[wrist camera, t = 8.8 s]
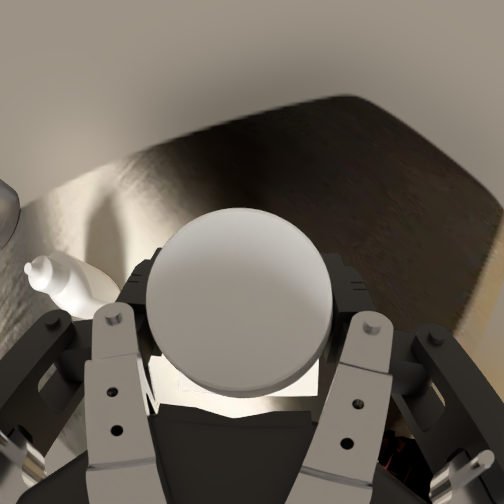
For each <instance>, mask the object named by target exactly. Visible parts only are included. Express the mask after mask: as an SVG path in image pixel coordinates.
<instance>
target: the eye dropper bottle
mask: <svg viewBox="0 0 504 504" xmlns="http://www.w3.org/2000/svg"><path fill="white" fill-rule="evenodd" d="M24 271H25V273H27V274H28V279H29V282H30V285H31V286H32V288H33V289H35V290H37V291H40V292H44V293H47V294H49V295H50V297H51V298H52V300H53V301H54V302H55V303H56V304H57V305H58V306H59V307H60V308H61V309H62V310H65V311H67V312H69V314H70V315H72V316H74V317H79V318H84V319H93V316H94V314H95V312H96V311H97V310H98V309H99V308H101V307H102V306H104V305H106V304H109V303H114V302H115V301H116V299H117V297H118V296H119V294H120V292H121V291H120V290H119V288H118V286H117V285H116V283H115V282H114V281H113V280H112V279H111V278H110V277H109V276H108V275H107V274H105V273H104V272H102V271H101V270H99V269H97V268H95V267H93V266H91V265H89V264H87V263H85V262H83V261H81V260H79V259H77V258H75V257H73V256H71V255H69V254H67V253H65V252H63V251H60V250H56V251H54V252H53V253H51V254H50V255H49V257H47V256H39V257H37V258H35V259H34V260H33V262H32V263H27V264H26V265H25V267H24Z"/></svg>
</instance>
